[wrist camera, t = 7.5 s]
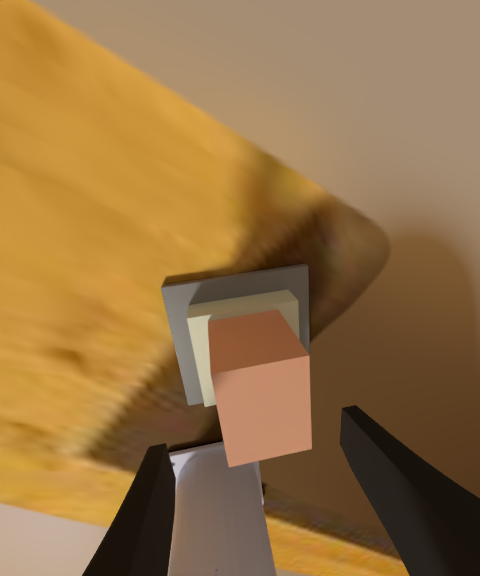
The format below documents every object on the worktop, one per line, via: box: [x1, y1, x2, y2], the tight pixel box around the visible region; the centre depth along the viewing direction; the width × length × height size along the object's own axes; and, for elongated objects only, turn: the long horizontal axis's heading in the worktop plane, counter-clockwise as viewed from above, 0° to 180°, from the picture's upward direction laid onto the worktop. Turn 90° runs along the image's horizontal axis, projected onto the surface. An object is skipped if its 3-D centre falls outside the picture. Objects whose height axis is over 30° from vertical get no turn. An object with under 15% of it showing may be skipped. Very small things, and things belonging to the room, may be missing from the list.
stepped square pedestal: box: [161, 264, 310, 407], centre depth 19 cm, size 10×10×3 cm
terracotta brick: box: [208, 309, 312, 467], centre depth 15 cm, size 6×4×5 cm
